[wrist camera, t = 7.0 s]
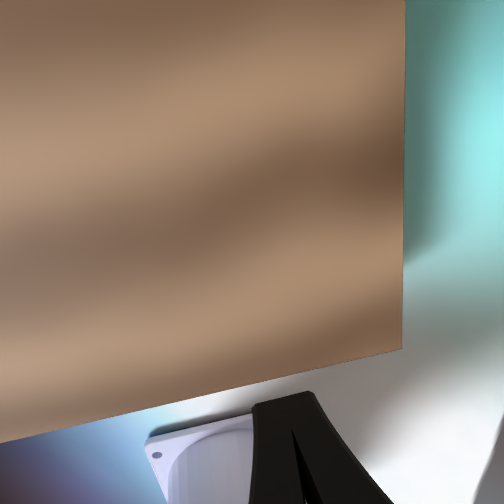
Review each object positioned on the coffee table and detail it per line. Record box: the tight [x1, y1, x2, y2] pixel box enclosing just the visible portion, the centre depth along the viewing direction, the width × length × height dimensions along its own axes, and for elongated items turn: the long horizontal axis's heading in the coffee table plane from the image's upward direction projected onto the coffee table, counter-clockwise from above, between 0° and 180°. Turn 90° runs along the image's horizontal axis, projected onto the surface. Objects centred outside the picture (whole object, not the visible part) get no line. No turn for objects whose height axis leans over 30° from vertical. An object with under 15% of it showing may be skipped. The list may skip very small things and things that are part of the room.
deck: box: [0, 0, 406, 443], centre depth 16 cm, size 14×16×4 cm
